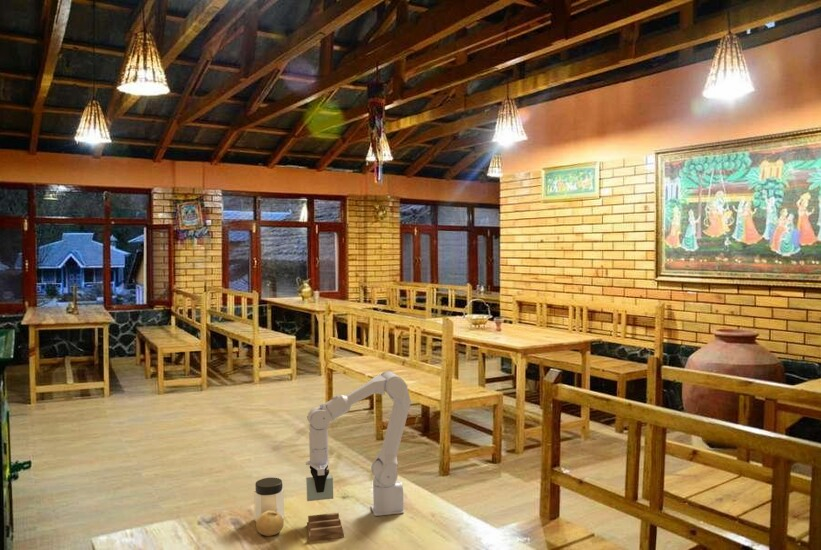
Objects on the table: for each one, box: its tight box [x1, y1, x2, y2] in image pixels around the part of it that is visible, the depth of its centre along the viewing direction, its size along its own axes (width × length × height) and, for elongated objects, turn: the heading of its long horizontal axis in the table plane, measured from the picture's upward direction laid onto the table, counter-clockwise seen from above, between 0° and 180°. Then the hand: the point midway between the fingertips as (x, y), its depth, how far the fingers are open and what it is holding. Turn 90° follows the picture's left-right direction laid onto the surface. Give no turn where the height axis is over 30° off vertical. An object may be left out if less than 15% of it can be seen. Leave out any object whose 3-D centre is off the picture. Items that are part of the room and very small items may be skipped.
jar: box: [253, 477, 285, 522], centre depth 201 cm, size 9×8×12 cm
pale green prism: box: [305, 474, 334, 502], centre depth 200 cm, size 8×2×6 cm, turn 102°
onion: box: [255, 510, 285, 537], centre depth 192 cm, size 8×8×7 cm
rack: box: [306, 512, 345, 542], centre depth 193 cm, size 10×10×3 cm
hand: (319, 490), depth 200 cm, fingers closed on pale green prism, 2 cm apart
